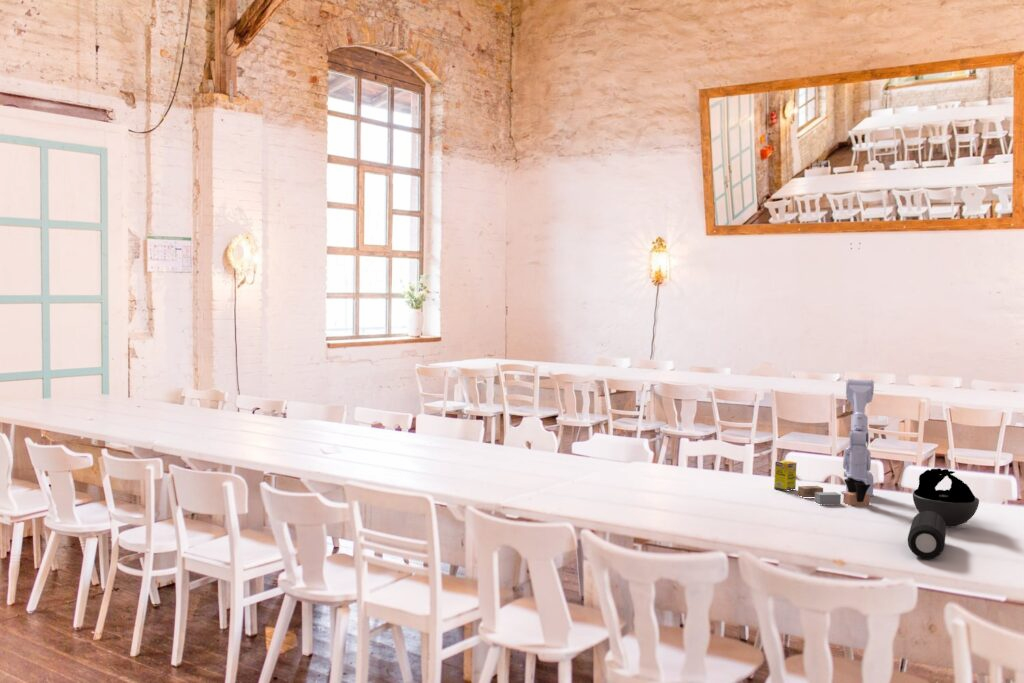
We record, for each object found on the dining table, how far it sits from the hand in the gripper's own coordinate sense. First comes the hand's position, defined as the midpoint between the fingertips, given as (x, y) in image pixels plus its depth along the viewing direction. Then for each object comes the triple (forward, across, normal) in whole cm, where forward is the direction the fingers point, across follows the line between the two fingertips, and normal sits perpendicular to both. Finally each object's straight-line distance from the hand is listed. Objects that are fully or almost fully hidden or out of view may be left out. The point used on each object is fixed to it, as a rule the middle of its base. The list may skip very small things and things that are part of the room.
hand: (856, 500), depth 340 cm
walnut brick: (+2, -13, -11) cm, 17 cm away
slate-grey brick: (+2, -2, -11) cm, 11 cm away
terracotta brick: (+2, 0, 0) cm, 2 cm away
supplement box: (+2, -26, -14) cm, 30 cm away
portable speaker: (+2, +58, -14) cm, 60 cm away
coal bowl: (+2, +34, +11) cm, 35 cm away
